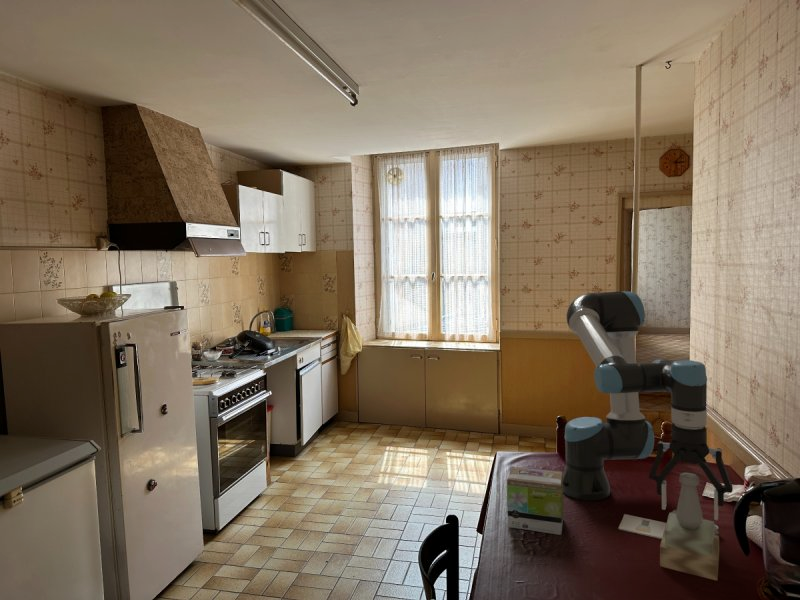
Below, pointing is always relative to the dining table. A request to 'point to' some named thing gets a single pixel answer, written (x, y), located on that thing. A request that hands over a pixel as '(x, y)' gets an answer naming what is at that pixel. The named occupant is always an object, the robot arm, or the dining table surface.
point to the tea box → (535, 500)
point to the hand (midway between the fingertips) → (689, 512)
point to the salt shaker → (689, 502)
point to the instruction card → (642, 526)
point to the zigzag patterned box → (690, 548)
